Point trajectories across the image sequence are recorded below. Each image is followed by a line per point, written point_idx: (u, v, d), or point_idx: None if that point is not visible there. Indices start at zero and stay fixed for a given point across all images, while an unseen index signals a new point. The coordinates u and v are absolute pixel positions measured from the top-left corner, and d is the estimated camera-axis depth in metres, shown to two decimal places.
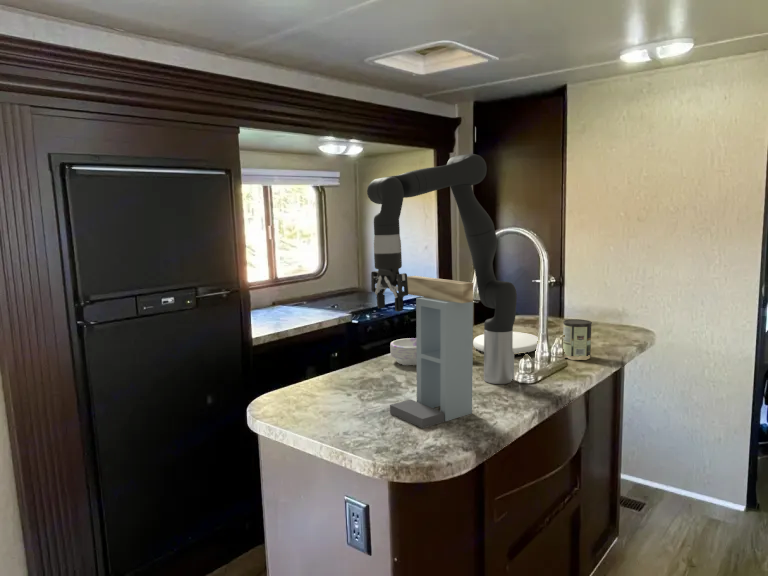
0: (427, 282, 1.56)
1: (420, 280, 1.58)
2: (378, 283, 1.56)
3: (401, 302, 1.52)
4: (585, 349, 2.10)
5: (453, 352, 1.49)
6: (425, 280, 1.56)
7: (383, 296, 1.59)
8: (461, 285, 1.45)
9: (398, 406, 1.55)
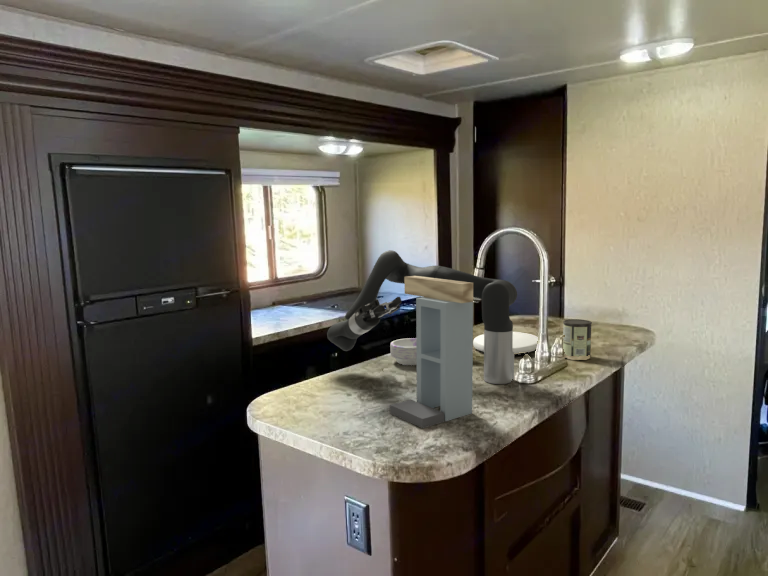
0: (427, 282, 1.56)
1: (420, 280, 1.58)
2: (385, 313, 1.81)
3: (371, 305, 1.73)
4: (585, 349, 2.10)
5: (453, 352, 1.49)
6: (425, 280, 1.56)
7: (393, 301, 1.79)
8: (461, 285, 1.45)
9: (398, 406, 1.55)
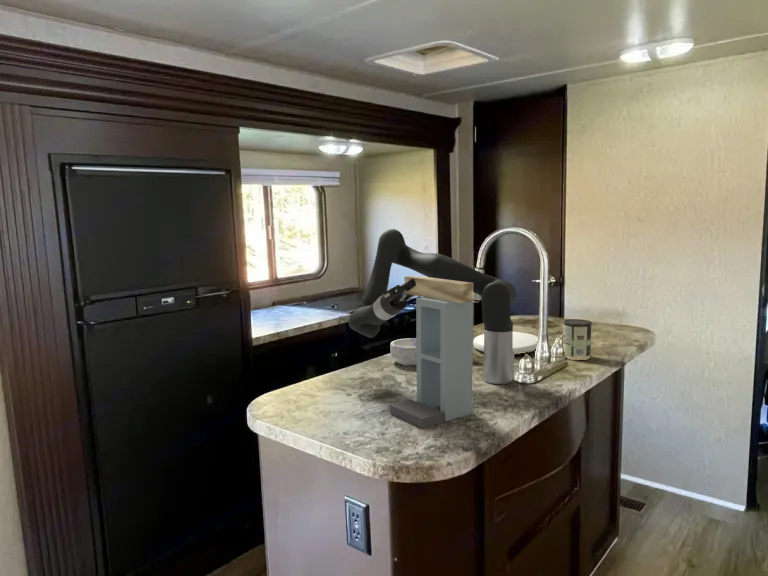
0: (427, 282, 1.56)
1: (420, 280, 1.58)
2: (412, 296, 1.68)
3: (406, 285, 1.61)
4: (585, 349, 2.10)
5: (453, 352, 1.49)
6: (425, 280, 1.56)
7: None
8: (461, 285, 1.45)
9: (398, 406, 1.55)
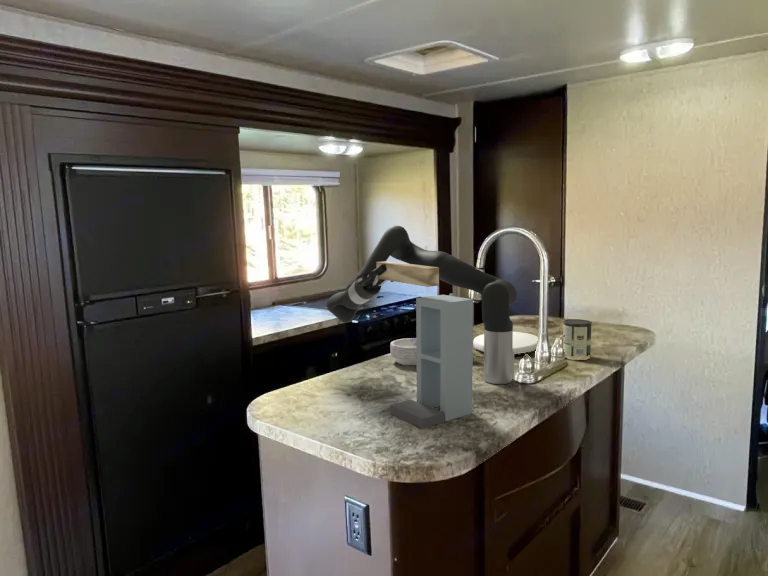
0: (396, 267, 1.62)
1: (390, 265, 1.64)
2: (385, 281, 1.74)
3: (378, 269, 1.67)
4: (585, 349, 2.10)
5: (453, 352, 1.49)
6: (395, 265, 1.62)
7: None
8: (427, 269, 1.51)
9: (398, 406, 1.55)
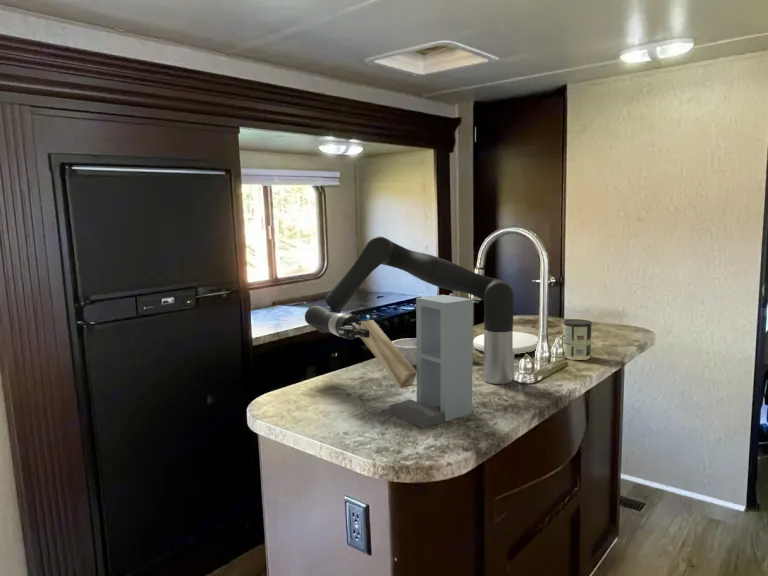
0: (378, 345, 1.61)
1: (373, 337, 1.62)
2: None
3: (360, 333, 1.65)
4: (585, 349, 2.10)
5: (453, 352, 1.49)
6: (377, 342, 1.61)
7: None
8: (404, 375, 1.52)
9: (398, 406, 1.55)
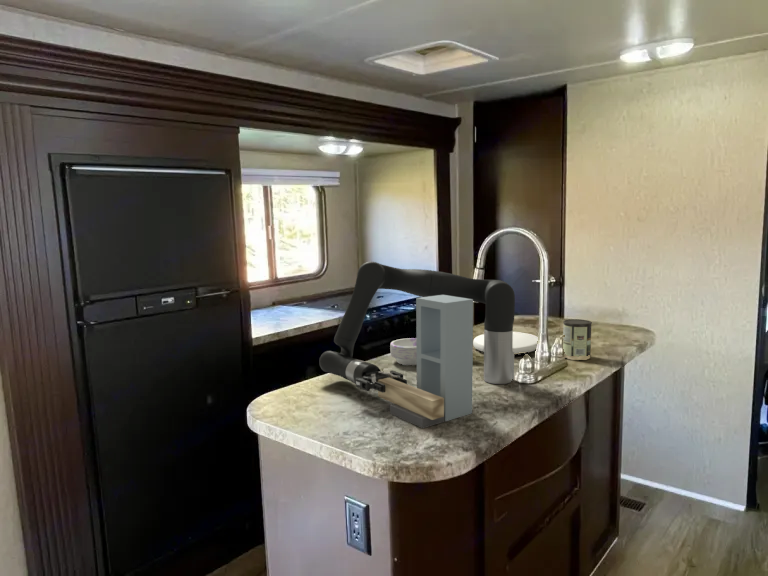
0: (399, 391, 1.55)
1: (393, 387, 1.57)
2: None
3: (376, 387, 1.59)
4: (585, 349, 2.10)
5: (453, 352, 1.49)
6: (397, 388, 1.55)
7: (398, 379, 1.64)
8: (431, 402, 1.44)
9: (398, 406, 1.55)
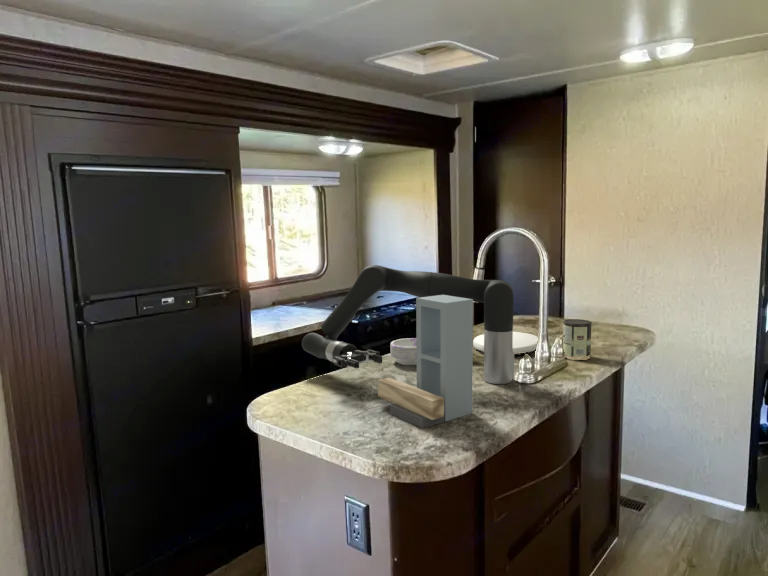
0: (399, 391, 1.55)
1: (393, 387, 1.57)
2: None
3: (350, 363, 1.70)
4: (585, 349, 2.10)
5: (453, 352, 1.49)
6: (397, 388, 1.55)
7: (374, 356, 1.76)
8: (431, 402, 1.44)
9: (398, 406, 1.55)
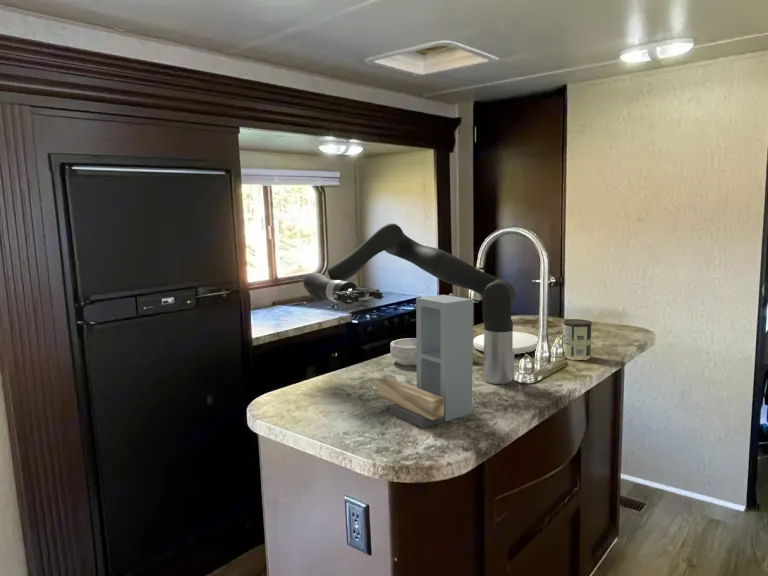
0: (399, 391, 1.55)
1: (393, 387, 1.57)
2: None
3: (350, 297, 1.71)
4: (585, 349, 2.10)
5: (453, 352, 1.49)
6: (397, 388, 1.55)
7: (374, 292, 1.77)
8: (431, 402, 1.44)
9: (398, 406, 1.55)
